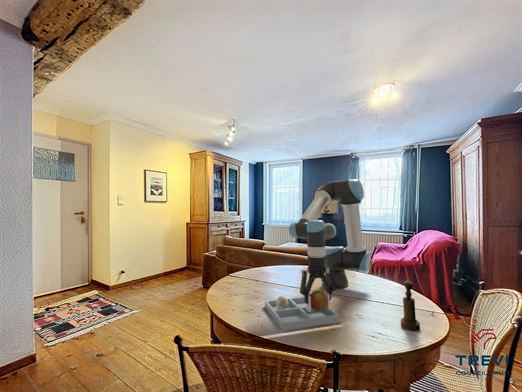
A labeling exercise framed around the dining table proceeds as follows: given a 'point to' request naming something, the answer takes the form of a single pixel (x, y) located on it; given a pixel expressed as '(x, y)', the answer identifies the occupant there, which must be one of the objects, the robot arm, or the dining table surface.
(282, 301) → the wooden ball
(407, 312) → the dark tall piece
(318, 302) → the apple
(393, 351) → the dining table surface
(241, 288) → the dining table surface
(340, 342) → the dining table surface
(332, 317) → the tray
